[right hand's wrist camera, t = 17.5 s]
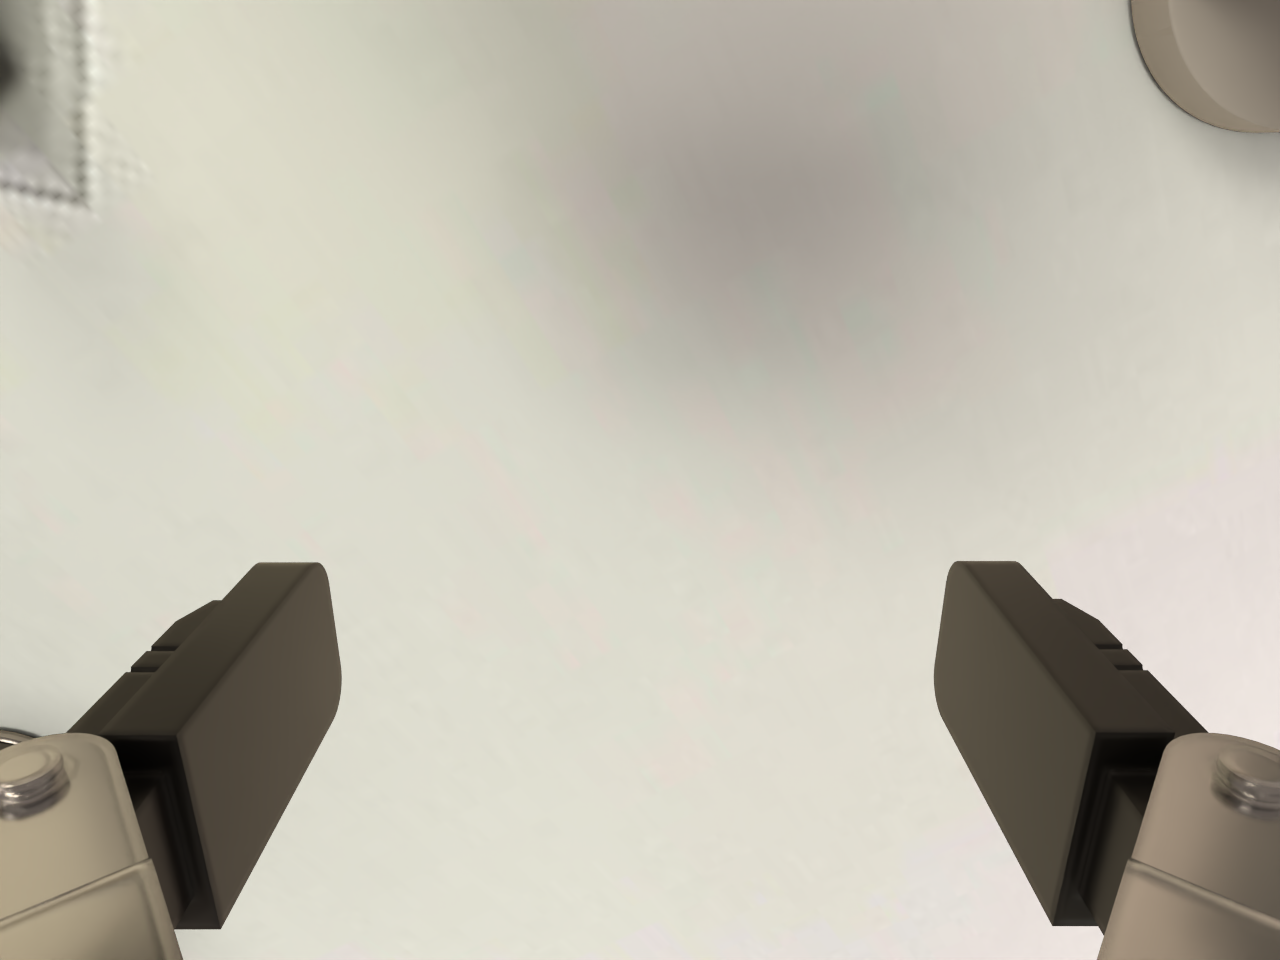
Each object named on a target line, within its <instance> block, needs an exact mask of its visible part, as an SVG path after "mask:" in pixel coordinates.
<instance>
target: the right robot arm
mask: <svg viewBox="0 0 1280 960" xmlns="http://www.w3.org/2000/svg"><path fill="white" fill-rule="evenodd" d="M151 647H152V649H151V651H146V652H145V653H144V654H143V655H142V656H141V657H140V658H139V659H138V660H137V661H136V662H135V663H134V664H133V665H132V666H131V672H126V673H125V674H124V675H123V676H122V677H121V678H120V679H119V680H118V681H117V682H116V683H115V684H114V685H113V686H112V687H111V688H110V689H109V690H108V691H107V692H106V693H105V694H104V695H103V696H102V697H101V698H100V699H99V700H98V701H97V702H96V703H95V704H94V705H93V706H92V707H91V708H90V709H89V710H88V711H87V712H86V713H85V714H84V715H83V716H82V717H81V718H80V719H79V720H78V721H77V722H76V723H75V724H74V725H73V726H72V727H71V728H70V729H69V730H68V731H67V733H62V734H54V735H48V736H43V737H38V738H34V739H31V740H27V741H24V742H21V743H18V744H15V745H12V746H10V747H7V748H5V749H2V750H0V960H183V958H182V954H181V951H180V948H179V945H178V941H177V938H176V935H175V932H174V929H221V928H222V926H223V924H224V922H225V920H226V918H227V917H228V915H229V913H230V911H231V909H232V907H233V905H234V904H235V902H236V900H237V898H238V896H239V894H240V892H241V891H242V889H243V887H244V885H245V883H246V881H247V879H248V878H249V876H250V874H251V872H252V870H253V868H254V866H255V865H256V863H257V861H258V859H259V857H260V855H261V853H262V852H263V850H264V848H265V846H266V844H267V842H268V840H269V839H270V837H271V835H272V833H273V831H274V829H275V827H276V826H277V824H278V822H279V820H280V818H281V816H282V814H283V812H284V811H285V809H286V807H287V805H288V803H289V801H290V799H291V798H292V796H293V794H294V792H295V790H296V788H297V786H298V785H299V783H300V781H301V779H302V777H303V775H304V773H305V772H306V770H307V768H308V766H309V764H310V762H311V760H312V759H313V757H314V755H315V753H316V751H317V749H318V747H319V746H320V744H321V742H322V740H323V738H324V736H325V734H326V733H327V731H328V729H329V727H330V725H331V723H332V721H333V719H334V717H335V715H336V712H337V709H338V705H339V700H340V694H341V680H342V677H341V664H340V657H339V650H338V643H337V636H336V629H335V622H334V615H333V608H332V601H331V594H330V587H329V581H328V577H327V573H326V571H325V569H324V567H323V566H322V565H321V564H320V563H257V564H256V565H254V566H253V567H252V568H251V569H250V571H249V572H248V573H247V574H246V575H245V576H244V577H243V578H242V579H241V580H240V581H239V582H238V583H237V585H236V586H235V587H234V588H233V589H232V590H231V591H230V592H229V593H228V594H227V595H226V596H225V597H224V599H223V600H213V601H211V602H209V603H208V604H206V605H204V606H202V607H201V608H199V609H197V610H195V611H194V612H192V613H190V614H188V615H186V616H185V617H183V618H181V619H179V620H178V621H176V622H175V623H174V624H173V625H172V626H171V627H170V628H169V629H168V630H167V631H166V632H165V633H164V634H163V635H162V636H161V637H160V638H159V639H158V640H157V641H156V642H155V643H154V644H153V645H152V646H151ZM934 688H935V696H936V701H937V705H938V709H939V712H940V715H941V717H942V719H943V721H944V723H945V725H946V727H947V728H948V730H949V732H950V734H951V736H952V738H953V740H954V742H955V744H956V745H957V747H958V749H959V751H960V753H961V755H962V757H963V759H964V760H965V762H966V764H967V766H968V768H969V770H970V772H971V774H972V775H973V777H974V779H975V781H976V783H977V785H978V787H979V789H980V791H981V792H982V794H983V796H984V798H985V800H986V802H987V804H988V806H989V807H990V809H991V811H992V813H993V815H994V817H995V819H996V821H997V823H998V824H999V826H1000V828H1001V830H1002V832H1003V834H1004V836H1005V838H1006V839H1007V841H1008V843H1009V845H1010V847H1011V849H1012V851H1013V853H1014V855H1015V856H1016V858H1017V860H1018V862H1019V864H1020V866H1021V868H1022V870H1023V871H1024V873H1025V875H1026V877H1027V879H1028V881H1029V883H1030V885H1031V886H1032V888H1033V890H1034V892H1035V894H1036V896H1037V898H1038V900H1039V902H1040V903H1041V905H1042V907H1043V909H1044V911H1045V913H1046V915H1047V917H1048V918H1049V920H1050V922H1051V924H1052V926H1099V928H1100V930H1101V931H1102V933H1103V935H1104V938H1103V941H1102V945H1101V948H1100V951H1099V954H1098V958H1097V960H1280V750H1278V749H1275V748H1273V747H1270V746H1268V745H1265V744H1262V743H1259V742H1256V741H1253V740H1249V739H1246V738H1242V737H1237V736H1232V735H1226V734H1218V733H1208V732H1207V731H1206V730H1205V729H1204V728H1203V727H1202V726H1201V724H1200V723H1199V722H1198V721H1197V720H1196V719H1195V718H1194V717H1193V716H1192V715H1191V714H1190V713H1189V712H1188V711H1187V710H1186V709H1185V708H1184V707H1183V706H1182V705H1181V704H1180V703H1179V702H1178V701H1177V700H1176V699H1175V698H1174V697H1173V696H1172V695H1171V694H1170V693H1169V692H1168V691H1167V690H1166V689H1165V688H1164V687H1163V686H1162V685H1161V683H1160V682H1159V681H1158V680H1157V679H1156V678H1155V677H1154V676H1153V675H1152V674H1151V673H1150V672H1149V671H1148V670H1143V668H1142V664H1141V663H1140V662H1139V661H1138V660H1137V659H1136V658H1135V657H1134V656H1133V655H1132V654H1131V653H1130V652H1129V651H1128V650H1127V649H1123V648H1122V644H1121V642H1120V641H1119V640H1118V639H1117V638H1116V637H1115V636H1114V635H1113V634H1112V633H1111V632H1110V631H1109V630H1108V629H1107V628H1106V627H1105V626H1104V625H1103V624H1102V623H1101V622H1100V621H1099V620H1098V619H1096V618H1094V617H1092V616H1091V615H1089V614H1087V613H1085V612H1084V611H1082V610H1080V609H1078V608H1077V607H1075V606H1073V605H1071V604H1069V603H1068V602H1066V601H1064V600H1062V599H1052V598H1051V597H1050V596H1049V595H1048V593H1047V592H1046V591H1045V590H1044V589H1043V588H1042V587H1041V586H1040V585H1039V584H1038V583H1037V581H1036V580H1035V579H1034V578H1033V577H1032V576H1031V575H1030V574H1029V573H1028V572H1027V571H1026V569H1025V568H1024V567H1023V566H1022V565H1021V564H1020V563H1018V562H1016V561H957V562H955V563H954V564H952V566H951V568H950V570H949V573H948V576H947V581H946V588H945V595H944V602H943V609H942V616H941V623H940V631H939V638H938V645H937V652H936V659H935V667H934Z"/></svg>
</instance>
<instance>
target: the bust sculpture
mask: <svg viewBox="0 0 1280 960" xmlns="http://www.w3.org/2000/svg"><path fill="white" fill-rule="evenodd" d="M1131 7H1132V17H1133V24H1134V29H1135V33H1136V38H1137V41H1138V45H1139V47H1140V50H1141V53H1142V56H1143V58H1144V60H1145V62H1146V65H1147V67H1148V68H1149V70H1150V72H1151V74H1152V75H1153V77H1154V79H1155V80H1156V82H1157V83H1158V85H1159V86H1160V87H1161V88H1162V90H1163V91H1164V92H1165V93H1166V94H1167V95H1168V96H1169V97H1170V98H1171V99H1172V100H1173V101H1174V102H1175V103H1176V104H1177V105H1178V106H1180V107H1181V108H1182V109H1183V110H1185V111H1186V112H1188V113H1189V114H1191V115H1192V116H1194V117H1196V118H1198V119H1200V120H1202V121H1204V122H1206V123H1208V124H1211V125H1214V126H1217V127H1220V128H1224V129H1228V130H1233V131H1239V132H1251V133H1264V132H1280V0H1131Z"/></svg>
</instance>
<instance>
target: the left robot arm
mask: <svg viewBox="0 0 1280 960" xmlns="http://www.w3.org/2000/svg"><path fill="white" fill-rule="evenodd" d="M31 739H34V738H32V737H30V736H26V735H23V734H20V733H15V732H10V731H3V730H0V750H2V749H5V748H7V747H10V746H12V745H15V744H18V743H21V742H24V741H27V740H31Z"/></svg>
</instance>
